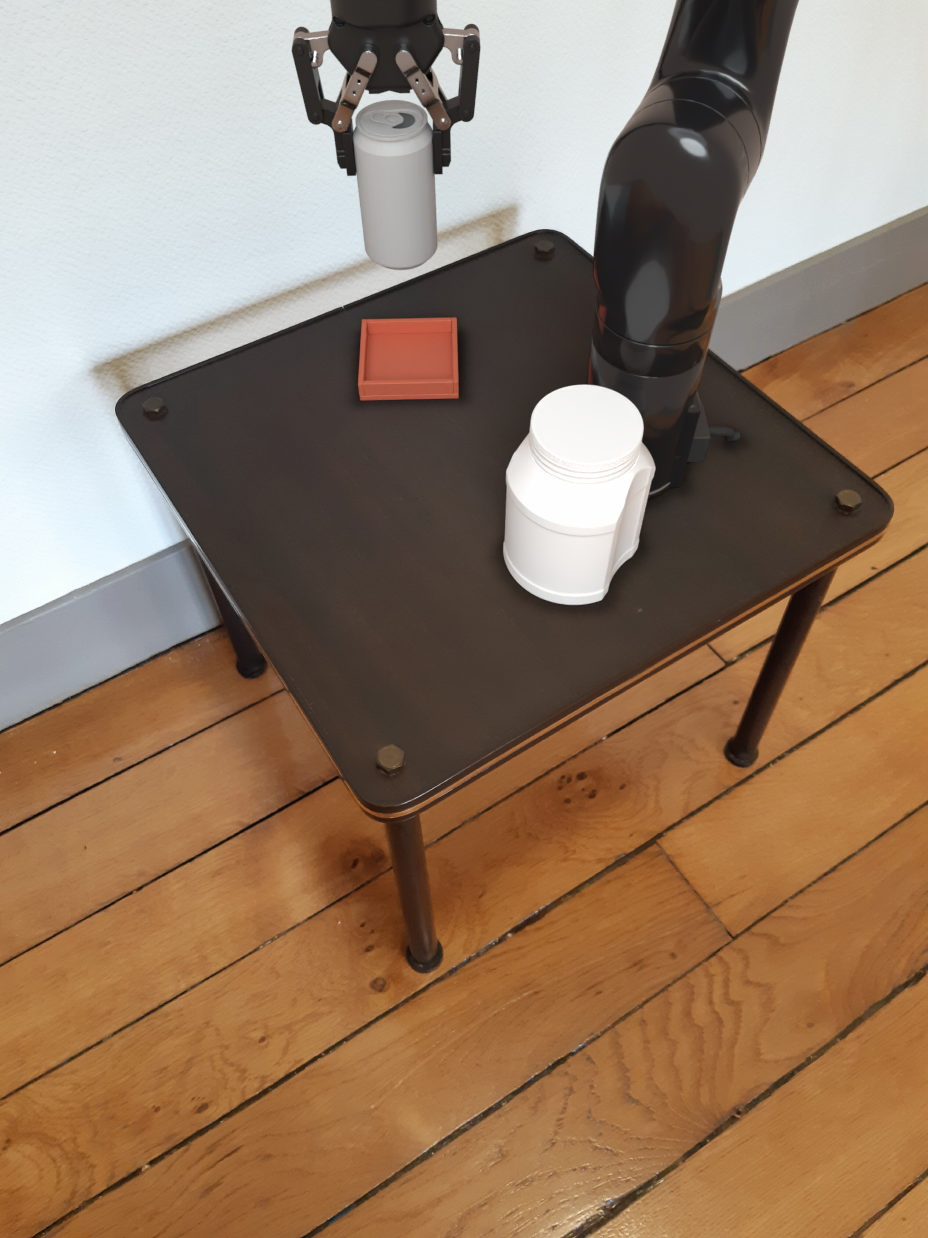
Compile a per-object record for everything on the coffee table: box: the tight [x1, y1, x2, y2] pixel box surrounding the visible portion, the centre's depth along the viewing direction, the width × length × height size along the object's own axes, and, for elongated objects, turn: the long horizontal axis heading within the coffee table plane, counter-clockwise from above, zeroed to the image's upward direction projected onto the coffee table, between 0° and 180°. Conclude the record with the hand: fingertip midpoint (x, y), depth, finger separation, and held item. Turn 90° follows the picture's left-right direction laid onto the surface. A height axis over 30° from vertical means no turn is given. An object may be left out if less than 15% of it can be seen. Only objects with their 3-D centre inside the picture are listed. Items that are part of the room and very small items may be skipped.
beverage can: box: [352, 99, 439, 271], centre depth 78 cm, size 6×6×12 cm
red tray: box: [357, 316, 460, 401], centre depth 93 cm, size 10×10×2 cm
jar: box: [502, 384, 655, 606], centre depth 75 cm, size 12×10×15 cm
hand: (395, 169), depth 77 cm, fingers closed on beverage can, 6 cm apart
